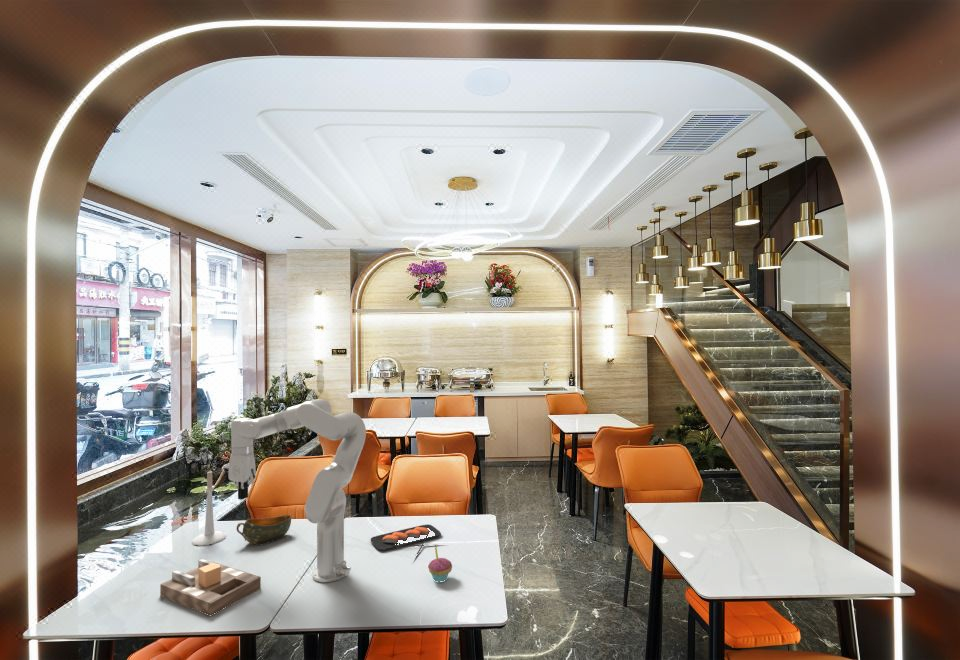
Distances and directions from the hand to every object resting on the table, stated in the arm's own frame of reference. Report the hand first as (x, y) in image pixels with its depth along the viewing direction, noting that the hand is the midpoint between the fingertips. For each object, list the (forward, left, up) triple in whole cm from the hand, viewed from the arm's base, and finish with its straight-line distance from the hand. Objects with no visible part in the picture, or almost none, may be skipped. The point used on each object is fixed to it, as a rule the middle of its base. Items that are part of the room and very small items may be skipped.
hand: (243, 498), depth 176 cm
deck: (-6, +17, -26) cm, 32 cm away
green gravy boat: (+13, -20, -26) cm, 36 cm away
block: (-7, +18, -22) cm, 29 cm away
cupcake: (-74, -24, -26) cm, 82 cm away
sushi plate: (-49, -43, -27) cm, 71 cm away
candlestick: (+36, -10, -26) cm, 46 cm away
